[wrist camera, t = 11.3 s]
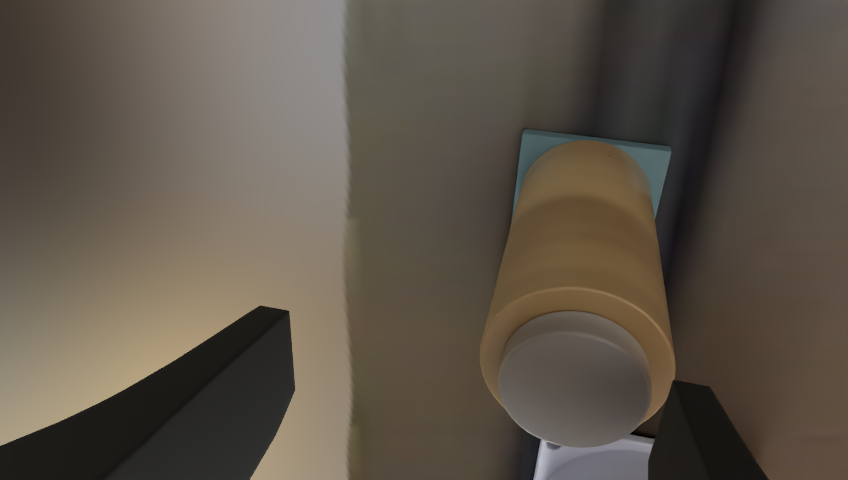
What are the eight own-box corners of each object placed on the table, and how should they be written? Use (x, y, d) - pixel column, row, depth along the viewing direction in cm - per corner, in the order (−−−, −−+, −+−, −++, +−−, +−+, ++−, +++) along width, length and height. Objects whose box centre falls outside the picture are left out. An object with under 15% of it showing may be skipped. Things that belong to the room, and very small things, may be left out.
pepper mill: (636, 264, 21) (654, 484, 14) (513, 245, 22) (465, 445, 14) (664, 148, 19) (703, 332, 12) (527, 131, 20) (481, 295, 12)
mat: (614, 374, 24) (614, 384, 24) (495, 353, 25) (494, 361, 25) (670, 145, 20) (672, 151, 19) (523, 127, 21) (522, 133, 20)
